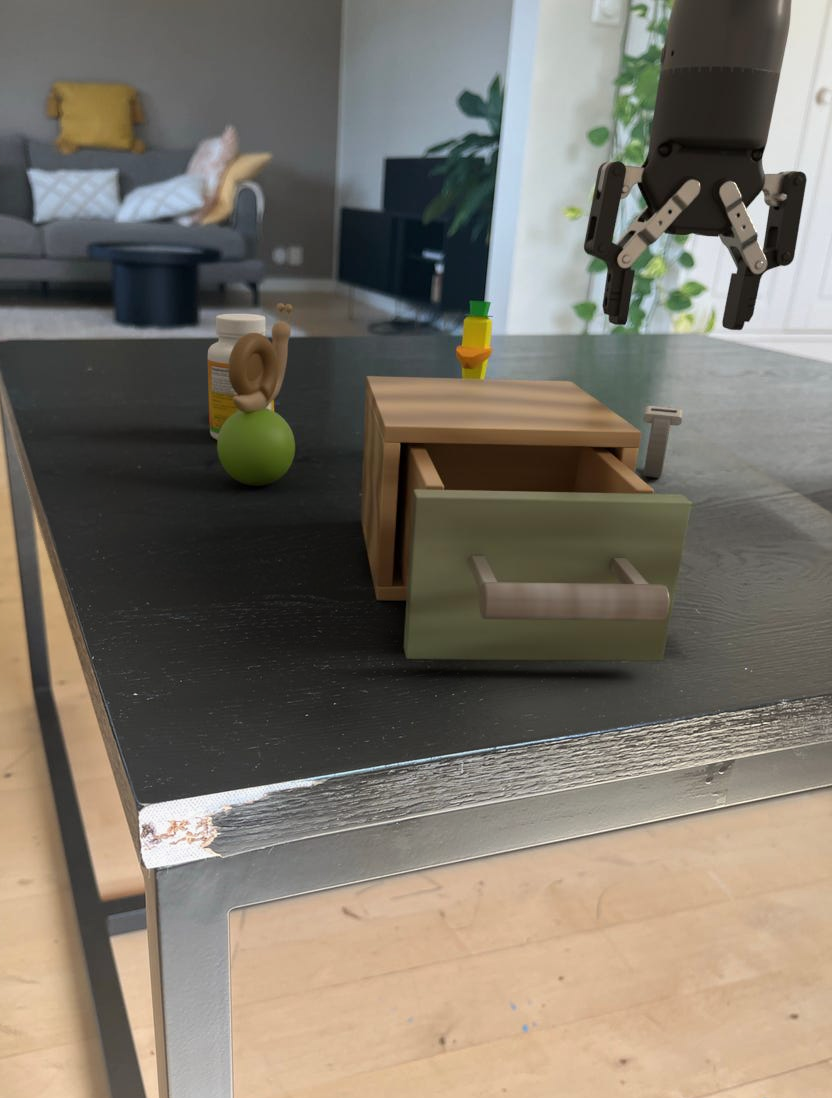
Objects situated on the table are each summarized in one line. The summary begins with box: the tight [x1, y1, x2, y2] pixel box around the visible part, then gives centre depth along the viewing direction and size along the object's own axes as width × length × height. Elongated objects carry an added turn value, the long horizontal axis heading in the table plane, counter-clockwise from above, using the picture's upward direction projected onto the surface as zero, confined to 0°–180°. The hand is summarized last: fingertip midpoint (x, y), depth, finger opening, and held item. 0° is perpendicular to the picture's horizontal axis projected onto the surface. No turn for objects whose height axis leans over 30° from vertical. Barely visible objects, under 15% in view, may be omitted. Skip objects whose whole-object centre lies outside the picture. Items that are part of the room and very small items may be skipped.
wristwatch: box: [642, 405, 683, 479], centre depth 75 cm, size 6×3×5 cm, turn 162°
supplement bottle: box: [207, 313, 275, 441], centre depth 81 cm, size 5×5×10 cm
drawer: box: [396, 443, 692, 662], centre depth 45 cm, size 17×11×7 cm, turn 3°
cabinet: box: [360, 375, 642, 602], centre depth 56 cm, size 14×13×9 cm
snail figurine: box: [216, 302, 296, 487], centre depth 68 cm, size 5×6×12 cm
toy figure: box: [455, 300, 494, 379], centre depth 76 cm, size 7×4×12 cm, turn 165°
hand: (675, 326), depth 71 cm, fingers open, 8 cm apart
